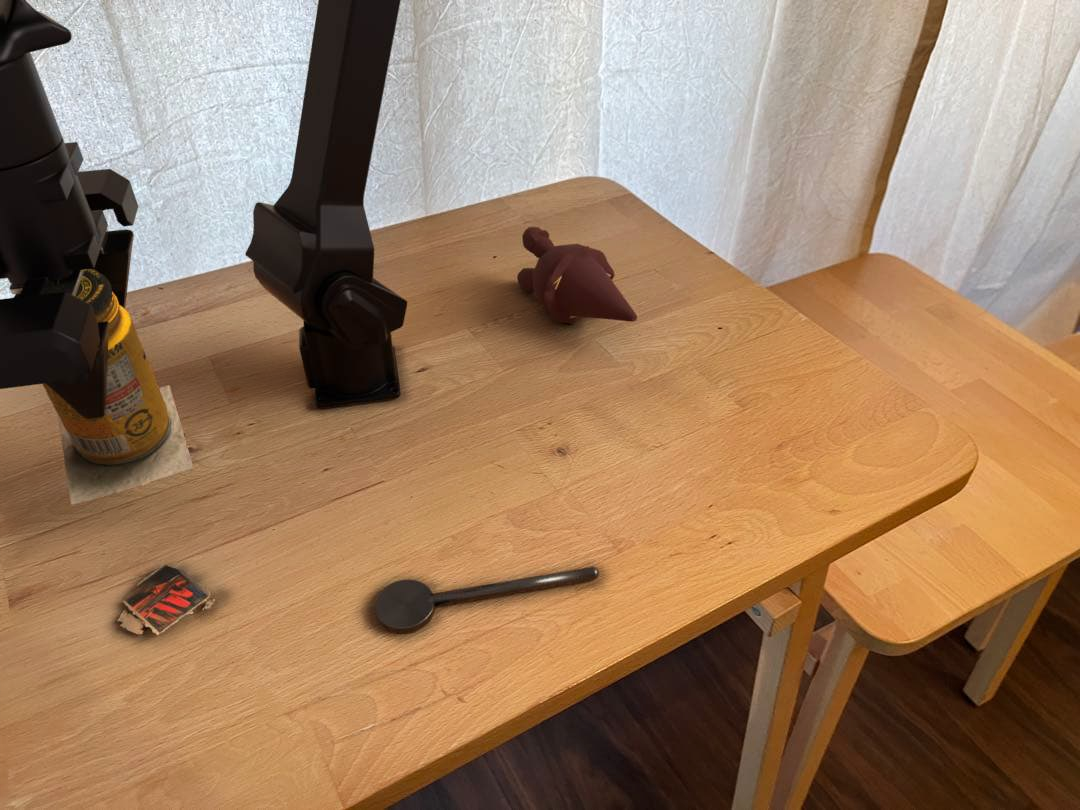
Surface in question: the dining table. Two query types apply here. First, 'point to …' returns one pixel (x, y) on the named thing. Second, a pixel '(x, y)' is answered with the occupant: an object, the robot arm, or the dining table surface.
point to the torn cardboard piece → (163, 600)
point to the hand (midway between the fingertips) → (104, 383)
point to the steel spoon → (455, 597)
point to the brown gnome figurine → (572, 281)
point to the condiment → (120, 413)
